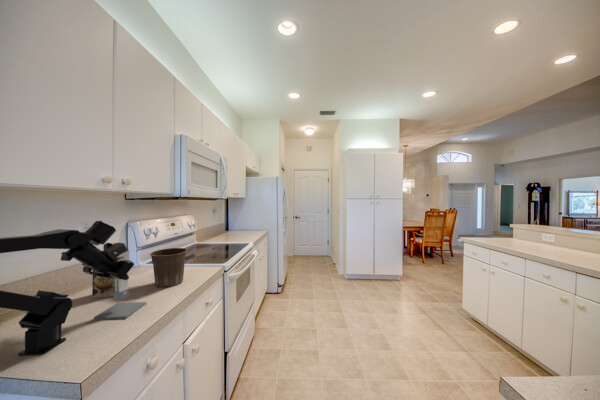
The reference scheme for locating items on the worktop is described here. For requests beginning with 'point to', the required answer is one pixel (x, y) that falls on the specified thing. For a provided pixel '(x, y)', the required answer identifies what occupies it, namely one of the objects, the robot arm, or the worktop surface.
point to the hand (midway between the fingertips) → (125, 278)
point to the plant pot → (168, 266)
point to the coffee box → (103, 284)
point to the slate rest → (120, 310)
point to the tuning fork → (121, 289)
